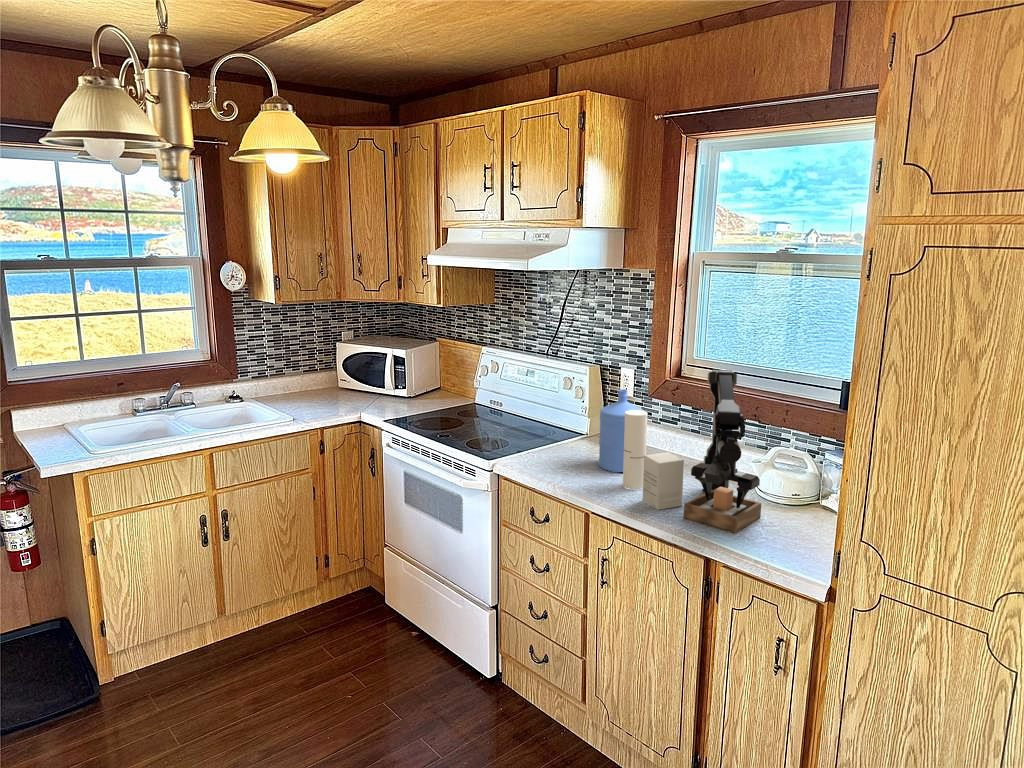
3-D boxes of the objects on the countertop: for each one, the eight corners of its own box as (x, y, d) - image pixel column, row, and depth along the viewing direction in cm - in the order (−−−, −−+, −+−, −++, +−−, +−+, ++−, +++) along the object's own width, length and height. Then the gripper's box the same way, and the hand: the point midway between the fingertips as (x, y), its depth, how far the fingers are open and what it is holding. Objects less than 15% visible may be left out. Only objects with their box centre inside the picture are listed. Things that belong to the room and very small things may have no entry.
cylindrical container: (631, 481, 234) (633, 409, 229) (649, 486, 229) (651, 412, 224) (618, 486, 229) (620, 412, 224) (636, 491, 224) (638, 416, 220)
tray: (683, 518, 203) (684, 503, 202) (710, 503, 214) (711, 489, 213) (735, 533, 192) (736, 518, 191) (760, 517, 203) (761, 502, 202)
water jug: (613, 476, 239) (616, 396, 234) (590, 463, 253) (592, 388, 248) (651, 470, 246) (654, 392, 240) (626, 457, 260) (629, 384, 254)
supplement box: (666, 496, 220) (668, 451, 217) (682, 506, 212) (685, 459, 209) (641, 500, 217) (643, 454, 214) (656, 510, 209) (658, 462, 206)
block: (712, 516, 203) (714, 490, 201) (719, 512, 206) (720, 486, 204) (725, 519, 200) (726, 493, 198) (731, 515, 203) (733, 489, 201)
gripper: (682, 451, 200) (680, 503, 203) (744, 466, 187) (740, 520, 190) (701, 443, 207) (699, 493, 211) (762, 456, 195) (758, 509, 198)
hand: (722, 503), depth 202 cm, fingers open, 9 cm apart
